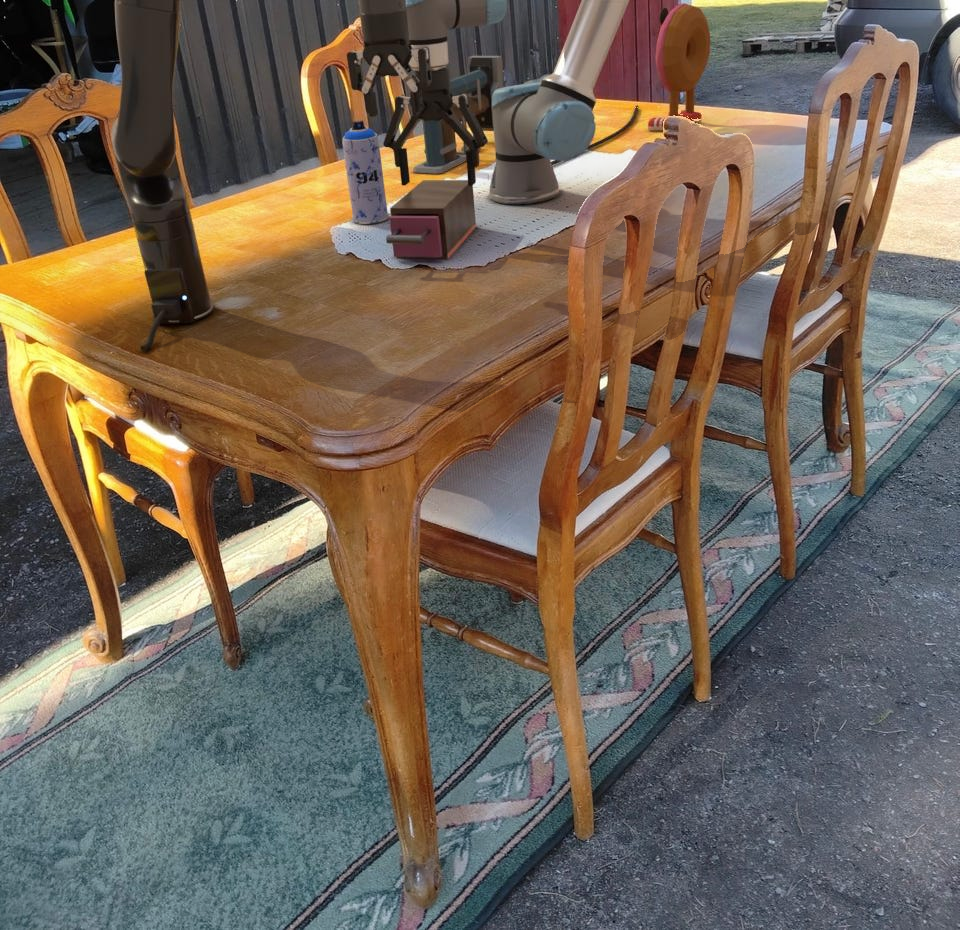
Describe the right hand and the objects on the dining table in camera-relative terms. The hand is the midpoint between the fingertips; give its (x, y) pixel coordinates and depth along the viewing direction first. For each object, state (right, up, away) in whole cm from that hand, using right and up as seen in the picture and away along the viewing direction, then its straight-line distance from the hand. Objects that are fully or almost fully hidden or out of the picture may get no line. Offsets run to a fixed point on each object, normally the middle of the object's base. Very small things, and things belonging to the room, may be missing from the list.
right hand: (438, 184), depth 188 cm
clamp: (+3, +25, +61) cm, 66 cm away
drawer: (-2, -13, -4) cm, 14 cm away
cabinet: (0, -11, +1) cm, 11 cm away
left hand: (-6, +5, -25) cm, 26 cm away
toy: (+61, +37, +73) cm, 102 cm away
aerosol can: (-15, -2, +18) cm, 24 cm away
